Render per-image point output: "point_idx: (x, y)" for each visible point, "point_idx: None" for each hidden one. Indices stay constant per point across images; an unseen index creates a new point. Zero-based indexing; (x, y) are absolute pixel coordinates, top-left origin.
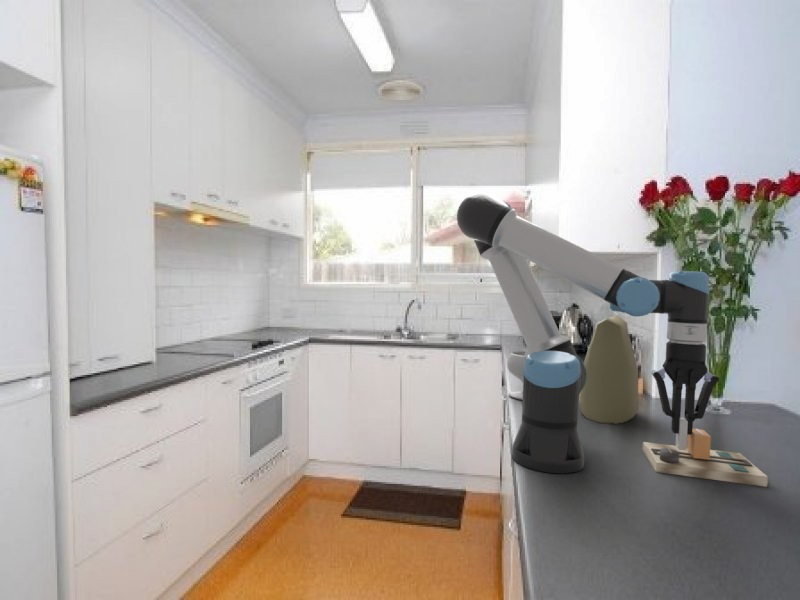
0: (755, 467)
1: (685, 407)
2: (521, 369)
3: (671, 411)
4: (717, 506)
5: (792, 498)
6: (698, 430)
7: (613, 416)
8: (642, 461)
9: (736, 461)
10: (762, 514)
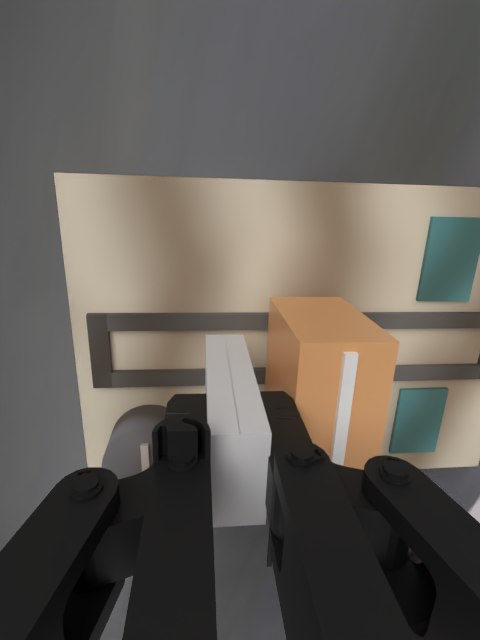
0: None
1: (290, 551)
2: None
3: (127, 573)
4: (230, 625)
5: (474, 501)
6: (346, 400)
7: None
8: (57, 357)
9: (457, 333)
10: None
